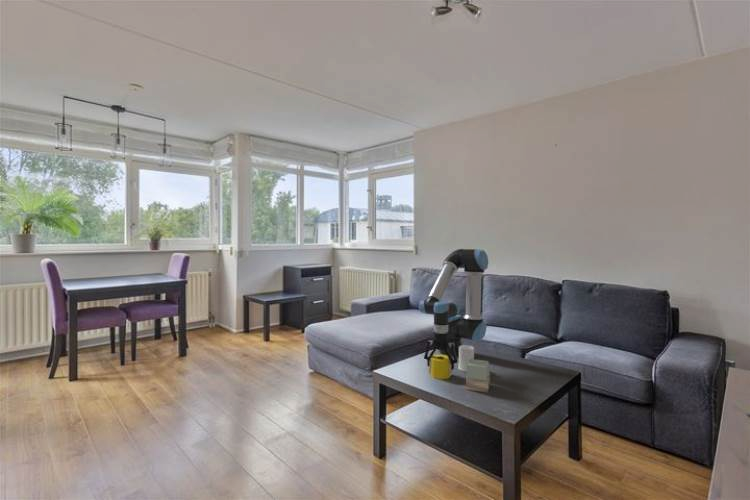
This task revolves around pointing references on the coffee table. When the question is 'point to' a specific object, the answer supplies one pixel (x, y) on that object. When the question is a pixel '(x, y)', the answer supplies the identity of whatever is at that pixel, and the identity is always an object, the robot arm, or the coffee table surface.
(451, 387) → the coffee table surface
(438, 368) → the yellow hollow cylinder
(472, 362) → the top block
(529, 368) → the coffee table surface
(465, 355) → the mug
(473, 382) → the base block
